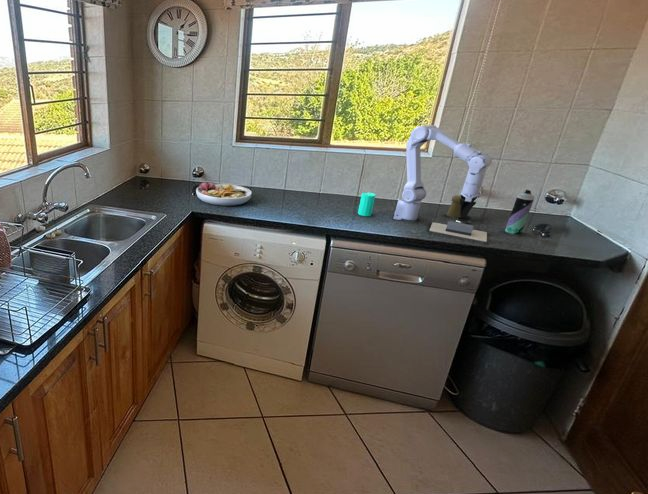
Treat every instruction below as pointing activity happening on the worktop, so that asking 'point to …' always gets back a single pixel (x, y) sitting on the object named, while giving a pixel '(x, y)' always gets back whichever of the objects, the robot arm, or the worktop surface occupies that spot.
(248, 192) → the bowl
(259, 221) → the worktop surface
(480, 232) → the memo board
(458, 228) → the eraser
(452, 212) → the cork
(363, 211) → the candle
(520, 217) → the spray can
